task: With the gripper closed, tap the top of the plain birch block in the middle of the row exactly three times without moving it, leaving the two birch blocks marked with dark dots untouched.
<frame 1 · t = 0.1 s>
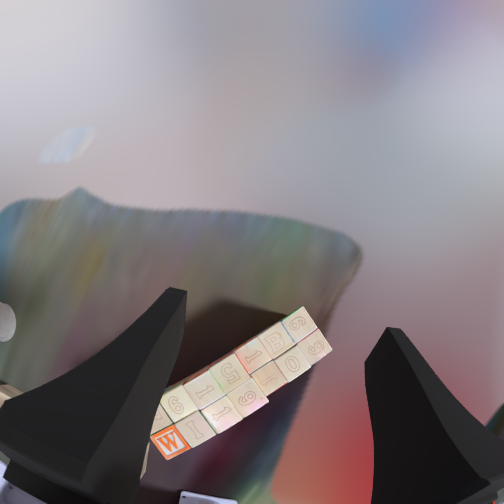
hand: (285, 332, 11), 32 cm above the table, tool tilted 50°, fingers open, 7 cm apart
stack of blocks: (234, 374, 40), on the table
dotted block 1: (18, 404, 35), on the table
cup: (3, 322, 38), on the table
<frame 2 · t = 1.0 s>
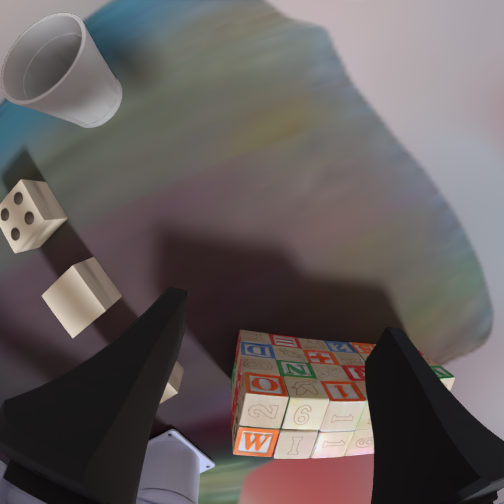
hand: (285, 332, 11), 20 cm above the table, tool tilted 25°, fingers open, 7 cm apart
stack of blocks: (328, 364, 33), on the table
dotted block 1: (42, 214, 29), on the table
cup: (95, 100, 28), on the table
dotted block 2: (151, 362, 32), on the table
plain block: (92, 289, 30), on the table
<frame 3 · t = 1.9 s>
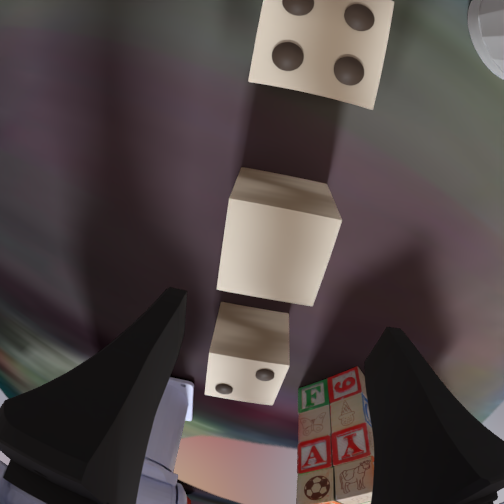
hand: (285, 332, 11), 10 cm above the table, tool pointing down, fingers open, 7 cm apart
stack of blocks: (363, 417, 31), on the table
dotted block 1: (310, 47, 14), on the table
cup: (502, 36, 11), on the table
dotted block 2: (249, 330, 24), on the table
plain block: (276, 213, 19), on the table
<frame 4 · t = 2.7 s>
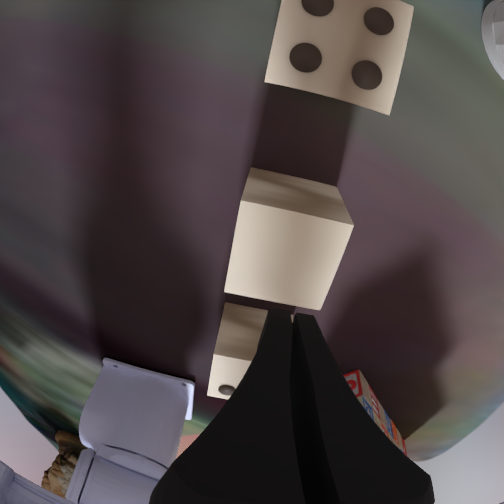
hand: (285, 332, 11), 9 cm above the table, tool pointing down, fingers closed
brown lumpy figurine: (84, 448, 48), on the table
stack of blocks: (362, 419, 31), on the table
dotted block 1: (324, 48, 14), on the table
dotted block 2: (253, 331, 24), on the table
plain block: (284, 215, 19), on the table
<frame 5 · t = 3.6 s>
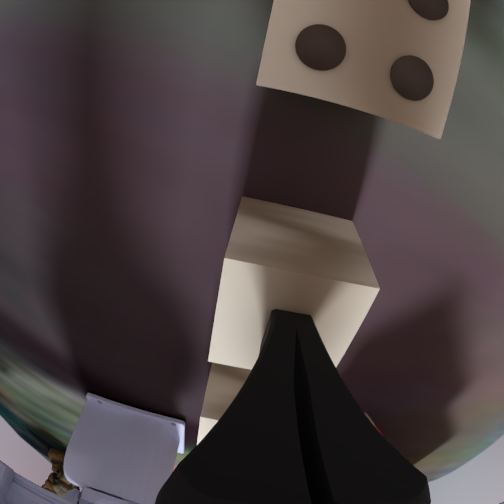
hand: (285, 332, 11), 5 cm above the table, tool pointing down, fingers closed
brown lumpy figurine: (78, 465, 45), on the table
dotted block 1: (340, 39, 10), on the table
dotted block 2: (247, 377, 20), on the table
plain block: (285, 255, 15), on the table
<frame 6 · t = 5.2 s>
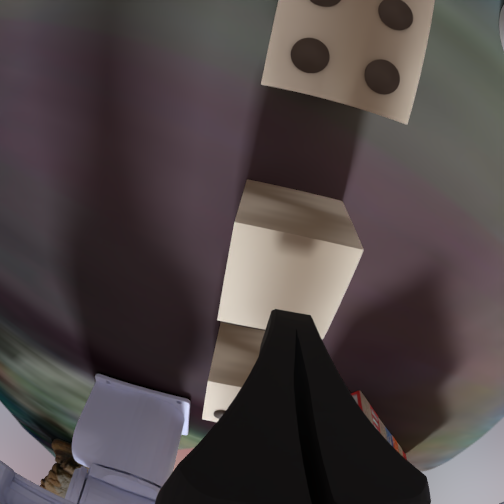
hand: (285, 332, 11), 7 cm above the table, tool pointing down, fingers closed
brown lumpy figurine: (81, 456, 46), on the table
stack of blocks: (363, 436, 30), on the table
dotted block 1: (330, 45, 12), on the table
dotted block 2: (250, 351, 22), on the table
plain block: (284, 231, 17), on the table
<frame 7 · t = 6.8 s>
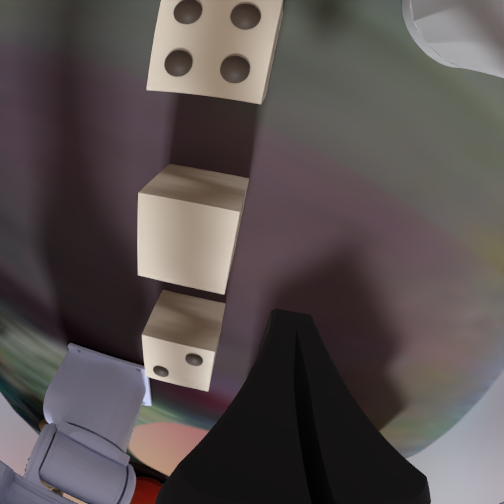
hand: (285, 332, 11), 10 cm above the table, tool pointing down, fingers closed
dotted block 1: (229, 48, 15), on the table
cup: (446, 20, 12), on the table
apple: (149, 478, 55), on the table
dotted block 2: (191, 318, 25), on the table
plain block: (203, 206, 20), on the table
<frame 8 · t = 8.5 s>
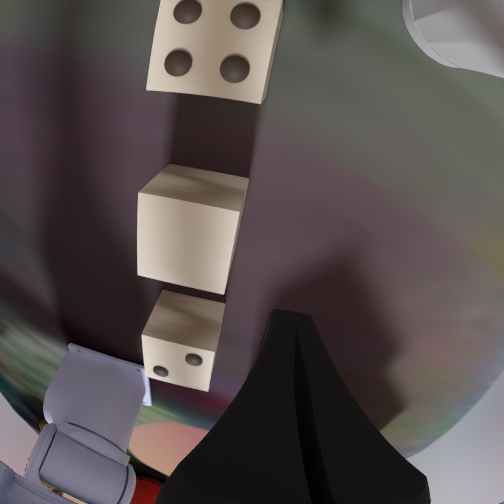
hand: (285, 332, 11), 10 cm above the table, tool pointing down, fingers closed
dotted block 1: (229, 48, 15), on the table
cup: (446, 20, 12), on the table
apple: (149, 478, 55), on the table
dotted block 2: (191, 318, 25), on the table
plain block: (203, 206, 20), on the table
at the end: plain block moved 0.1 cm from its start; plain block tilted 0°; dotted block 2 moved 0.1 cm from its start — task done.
